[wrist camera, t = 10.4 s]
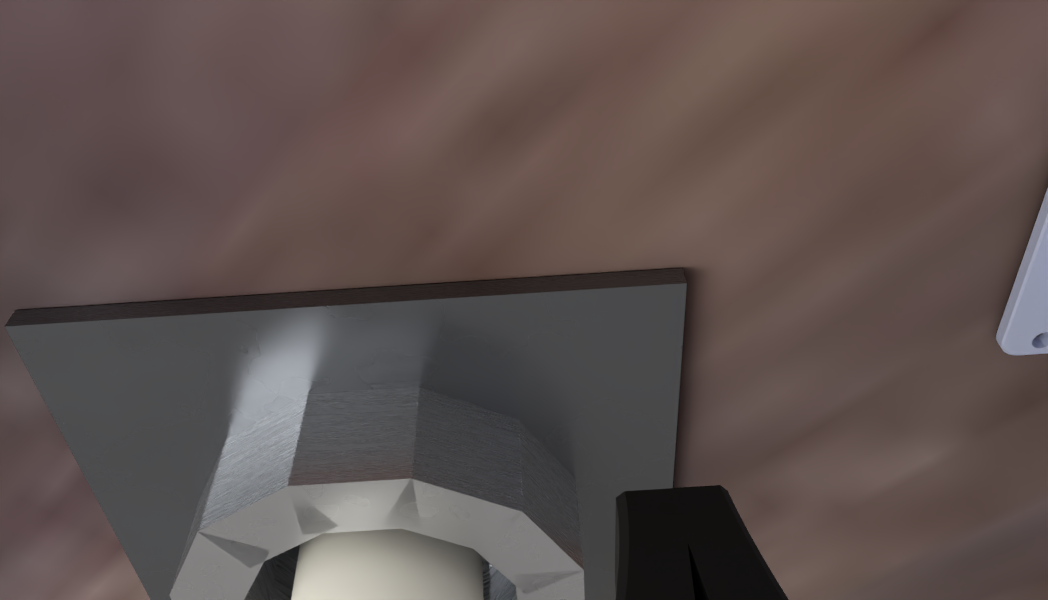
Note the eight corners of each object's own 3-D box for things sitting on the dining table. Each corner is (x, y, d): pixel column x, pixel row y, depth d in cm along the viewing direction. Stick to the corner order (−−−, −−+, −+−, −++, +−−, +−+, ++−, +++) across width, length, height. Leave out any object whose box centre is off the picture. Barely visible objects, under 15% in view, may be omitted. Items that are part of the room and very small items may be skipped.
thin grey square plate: (682, 268, 21) (711, 370, 19) (658, 640, 31) (675, 744, 28) (15, 310, 22) (-57, 418, 19) (200, 667, 31) (171, 773, 29)
